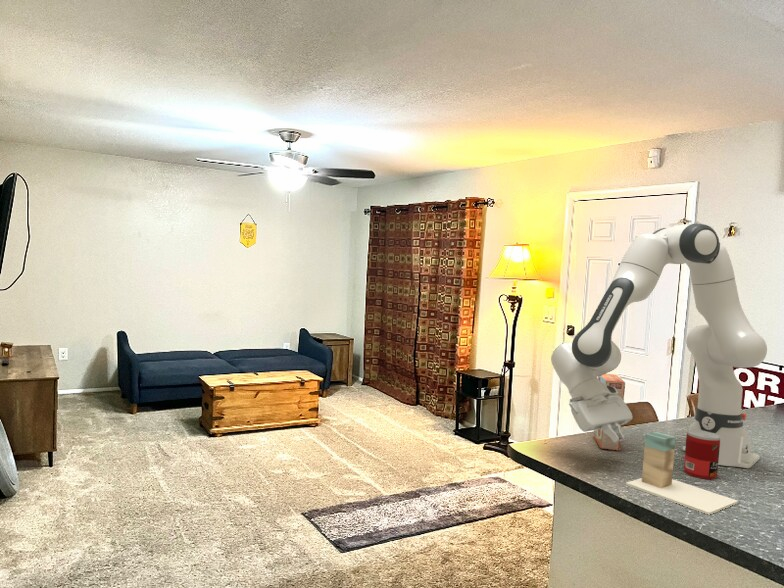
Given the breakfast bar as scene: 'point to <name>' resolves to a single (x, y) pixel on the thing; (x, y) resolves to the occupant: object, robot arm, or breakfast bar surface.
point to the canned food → (702, 454)
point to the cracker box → (605, 440)
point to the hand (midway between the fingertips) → (619, 440)
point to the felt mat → (687, 496)
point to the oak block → (658, 459)
